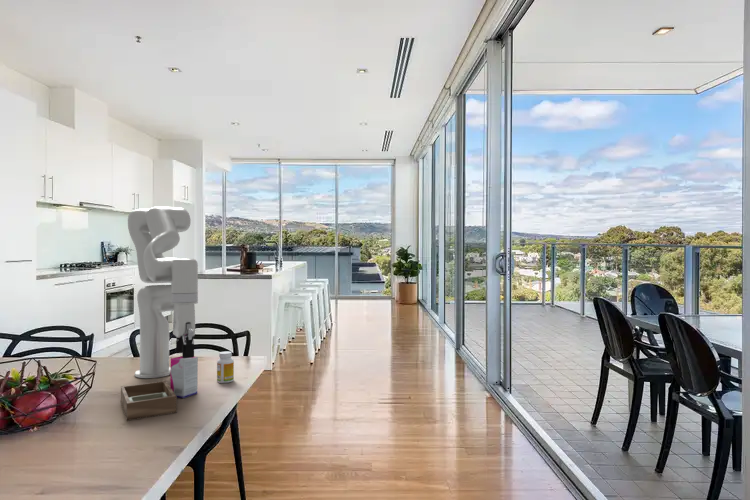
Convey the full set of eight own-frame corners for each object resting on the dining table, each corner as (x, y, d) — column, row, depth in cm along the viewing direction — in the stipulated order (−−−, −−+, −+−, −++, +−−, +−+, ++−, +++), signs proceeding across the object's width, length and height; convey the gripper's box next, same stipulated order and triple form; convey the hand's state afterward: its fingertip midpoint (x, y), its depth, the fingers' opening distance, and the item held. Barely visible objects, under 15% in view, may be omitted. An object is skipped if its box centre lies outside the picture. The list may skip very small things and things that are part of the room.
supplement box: (198, 393, 149) (198, 356, 149) (183, 398, 144) (183, 360, 144) (184, 391, 152) (184, 354, 152) (169, 396, 146) (169, 358, 146)
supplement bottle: (236, 379, 166) (236, 351, 166) (229, 383, 160) (230, 354, 160) (221, 378, 166) (221, 350, 166) (214, 383, 161) (214, 353, 161)
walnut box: (120, 402, 140) (120, 386, 140) (165, 395, 147) (165, 380, 147) (127, 420, 125) (127, 403, 125) (176, 412, 132) (176, 396, 132)
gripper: (166, 297, 153) (166, 352, 153) (177, 301, 138) (177, 361, 138) (191, 296, 157) (191, 349, 157) (204, 300, 142) (204, 358, 142)
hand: (184, 355), depth 147 cm, fingers open, 9 cm apart
